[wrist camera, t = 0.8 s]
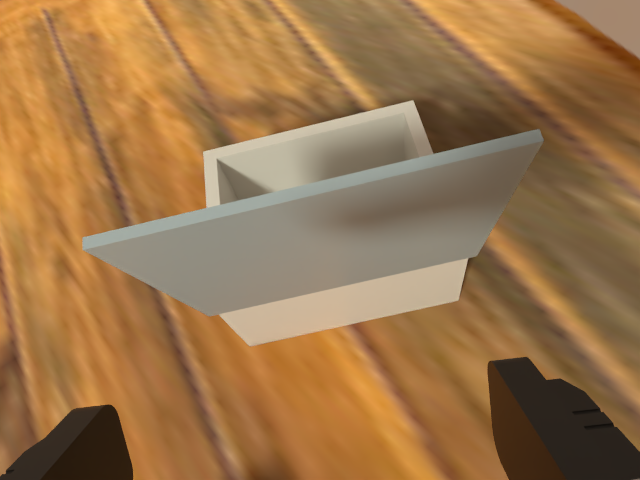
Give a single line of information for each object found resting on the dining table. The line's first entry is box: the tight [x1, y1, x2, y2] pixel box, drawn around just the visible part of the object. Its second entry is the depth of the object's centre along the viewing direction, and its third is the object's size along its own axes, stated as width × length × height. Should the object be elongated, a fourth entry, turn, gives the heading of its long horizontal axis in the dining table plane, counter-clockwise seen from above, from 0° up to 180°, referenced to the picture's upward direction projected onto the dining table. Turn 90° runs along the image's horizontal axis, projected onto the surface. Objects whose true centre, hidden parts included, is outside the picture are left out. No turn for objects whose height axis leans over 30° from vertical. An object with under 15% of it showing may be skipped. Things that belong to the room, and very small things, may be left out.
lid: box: [83, 129, 544, 316], centre depth 29 cm, size 21×16×1 cm
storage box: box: [203, 100, 468, 346], centre depth 45 cm, size 20×16×10 cm
